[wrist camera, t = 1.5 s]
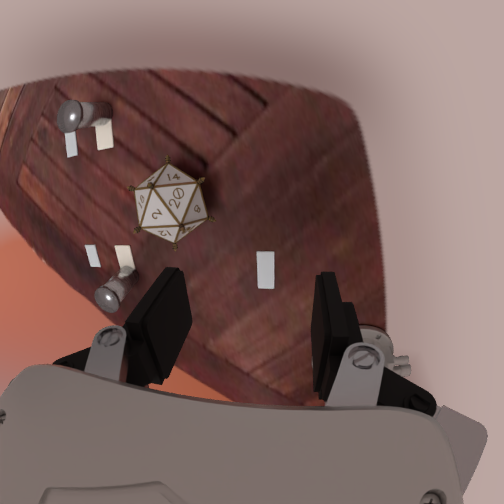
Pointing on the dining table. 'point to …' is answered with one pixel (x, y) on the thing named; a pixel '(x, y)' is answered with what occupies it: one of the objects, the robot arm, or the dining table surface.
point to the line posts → (69, 121)
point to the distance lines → (124, 251)
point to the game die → (170, 204)
